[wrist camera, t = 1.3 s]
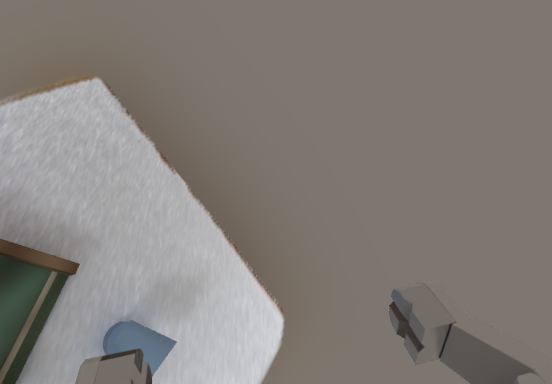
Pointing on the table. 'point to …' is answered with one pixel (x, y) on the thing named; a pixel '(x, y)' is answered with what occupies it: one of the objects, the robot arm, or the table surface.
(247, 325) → the table surface
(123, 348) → the spotlight
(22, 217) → the table surface
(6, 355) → the wooden display tray
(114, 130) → the table surface
